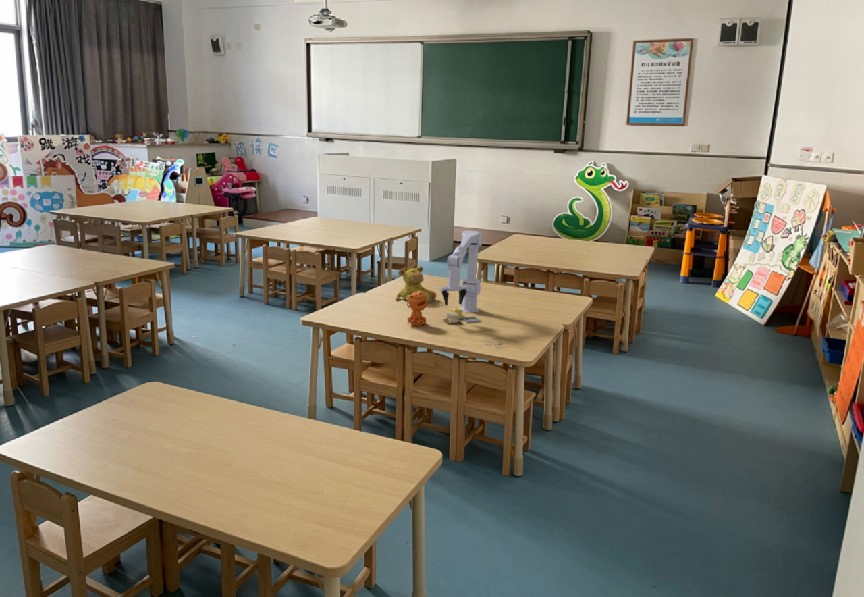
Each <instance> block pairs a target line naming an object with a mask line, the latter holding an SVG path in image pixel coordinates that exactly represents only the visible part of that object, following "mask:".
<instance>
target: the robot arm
mask: <svg viewBox="0 0 864 597" xmlns="http://www.w3.org/2000/svg"><path fill="white" fill-rule="evenodd" d="M460 242H461V243H460V245H458V246H457V247H456V248H455V249H454V251H453V253H452V254H450V255H449V256H448V258H447V261H446V263H447V269H448V285H447V286H442V287H441V286H440V287H439V292H440V293H441V295H442V298H443V300H444V305H445V306H447V307H448V306H449V305H448V304H449V301H448V300H449V295H450V293H449V292H458V304H459V305H461V306H460V307H459V308H461V309H462V312H464V313H476V312H480V309H478V306H477V305H478V295H479V294H480V293H481V289H482V286H481V280H480V278H479V279H478V278H477V267H478V259H479V258H478V257H479V256H478V255H479V249H480V247H482V245H483V233H482V232H481V231H475V230H473V231H472V230H466V229H465V230H463V231H462V233H461V241H460ZM467 249H468V259H467V272H466V273H467V274H466V277H465V278H462V281H461V268H462V265H463V262H464V258H465V256H466V254H467Z"/></svg>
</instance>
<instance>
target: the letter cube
mask: <svg viewBox="0 0 864 597" xmlns="http://www.w3.org/2000/svg"><path fill="white" fill-rule="evenodd" d="M450 312H456V313H457V314H458V318H460V317H462V315H463V310H462V309H461V308H460V307H451V308H450Z"/></svg>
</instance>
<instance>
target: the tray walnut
mask: <svg viewBox="0 0 864 597" xmlns="http://www.w3.org/2000/svg"><path fill="white" fill-rule="evenodd" d="M442 321H443V322H444V323H445V324H447V325H448V326H450V325H461V324H463V321H461V319H458V322H455V323H448V322H447V318H443V319H442Z"/></svg>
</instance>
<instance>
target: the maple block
mask: <svg viewBox="0 0 864 597" xmlns="http://www.w3.org/2000/svg"><path fill="white" fill-rule="evenodd" d="M446 319H447V322H448V323H455V322H458V320H459V319H458V314H457V313H456V312H451V311H449V312H446Z"/></svg>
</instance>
